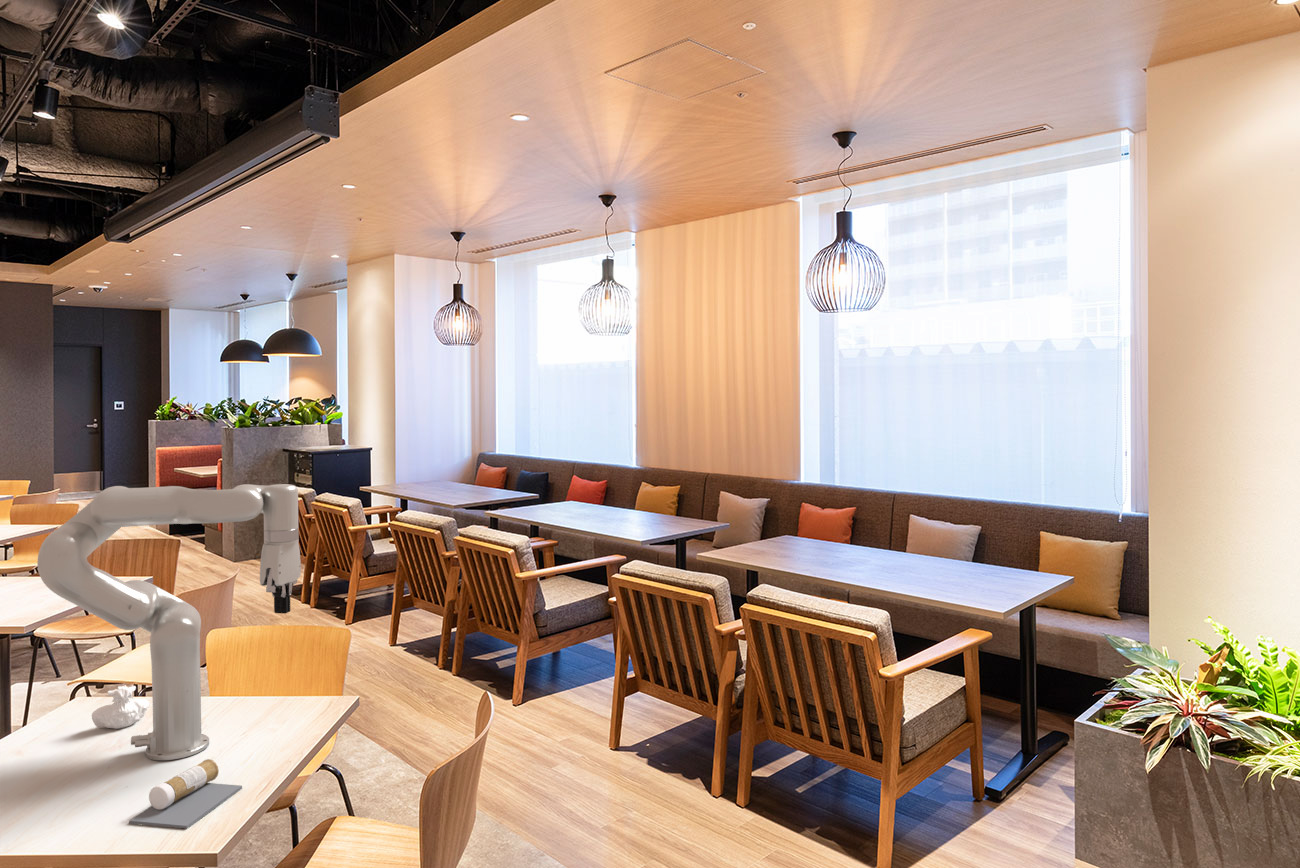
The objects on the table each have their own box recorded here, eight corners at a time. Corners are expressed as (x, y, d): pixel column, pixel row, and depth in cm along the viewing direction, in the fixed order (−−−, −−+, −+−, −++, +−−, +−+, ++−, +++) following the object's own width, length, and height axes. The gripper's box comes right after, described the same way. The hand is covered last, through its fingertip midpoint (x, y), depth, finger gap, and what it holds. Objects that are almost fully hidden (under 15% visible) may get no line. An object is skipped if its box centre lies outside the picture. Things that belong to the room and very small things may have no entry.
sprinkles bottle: (207, 783, 170) (153, 813, 157) (198, 762, 170) (144, 792, 157) (223, 775, 169) (170, 805, 156) (214, 754, 169) (161, 783, 156)
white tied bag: (92, 741, 194) (96, 713, 189) (88, 715, 199) (91, 687, 193) (150, 728, 202) (155, 700, 197) (144, 703, 207) (150, 675, 201)
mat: (186, 829, 151) (186, 825, 151) (129, 823, 153) (129, 820, 153) (242, 788, 167) (242, 785, 167) (189, 784, 169) (189, 781, 169)
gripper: (285, 530, 201) (286, 604, 202) (247, 541, 187) (248, 620, 187) (313, 531, 200) (314, 605, 201) (277, 542, 185) (278, 621, 186)
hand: (282, 612), depth 194 cm, fingers closed
